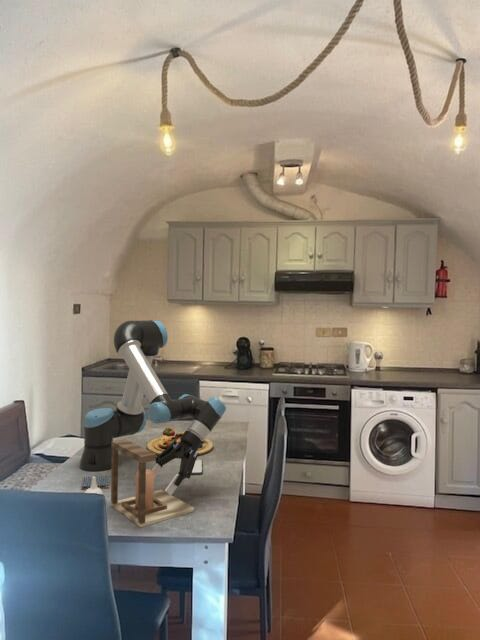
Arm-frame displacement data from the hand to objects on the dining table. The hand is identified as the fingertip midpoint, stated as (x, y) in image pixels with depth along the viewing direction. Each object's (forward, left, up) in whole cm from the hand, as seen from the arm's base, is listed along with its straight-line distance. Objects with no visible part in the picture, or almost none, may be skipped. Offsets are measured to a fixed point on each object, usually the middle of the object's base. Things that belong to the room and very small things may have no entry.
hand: (157, 486), depth 168 cm
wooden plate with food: (-54, +44, -8) cm, 70 cm away
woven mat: (-32, -8, -8) cm, 34 cm away
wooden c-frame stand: (0, -2, -7) cm, 7 cm away
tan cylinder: (0, -5, -6) cm, 8 cm away
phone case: (-26, +32, -8) cm, 42 cm away
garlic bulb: (-20, -14, -7) cm, 26 cm away
